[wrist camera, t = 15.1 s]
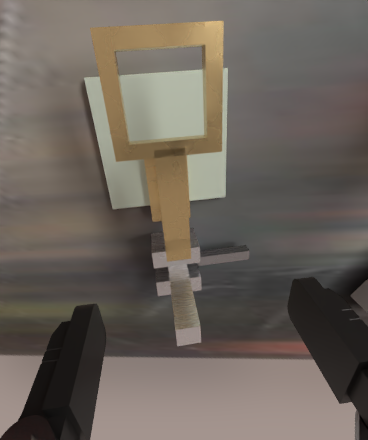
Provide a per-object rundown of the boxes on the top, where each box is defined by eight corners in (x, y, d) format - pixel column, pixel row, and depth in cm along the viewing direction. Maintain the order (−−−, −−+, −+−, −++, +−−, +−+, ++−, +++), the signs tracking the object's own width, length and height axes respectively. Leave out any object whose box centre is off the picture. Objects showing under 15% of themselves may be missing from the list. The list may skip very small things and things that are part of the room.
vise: (151, 233, 30) (153, 315, 19) (243, 222, 31) (293, 294, 20) (156, 273, 33) (162, 363, 22) (240, 261, 34) (283, 343, 23)
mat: (86, 77, 22) (83, 77, 21) (224, 68, 23) (227, 67, 22) (113, 205, 28) (112, 209, 27) (223, 193, 29) (225, 196, 28)
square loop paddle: (109, 46, 20) (90, 28, 13) (197, 40, 21) (223, 20, 14) (138, 219, 28) (136, 265, 21) (202, 211, 28) (221, 254, 21)
